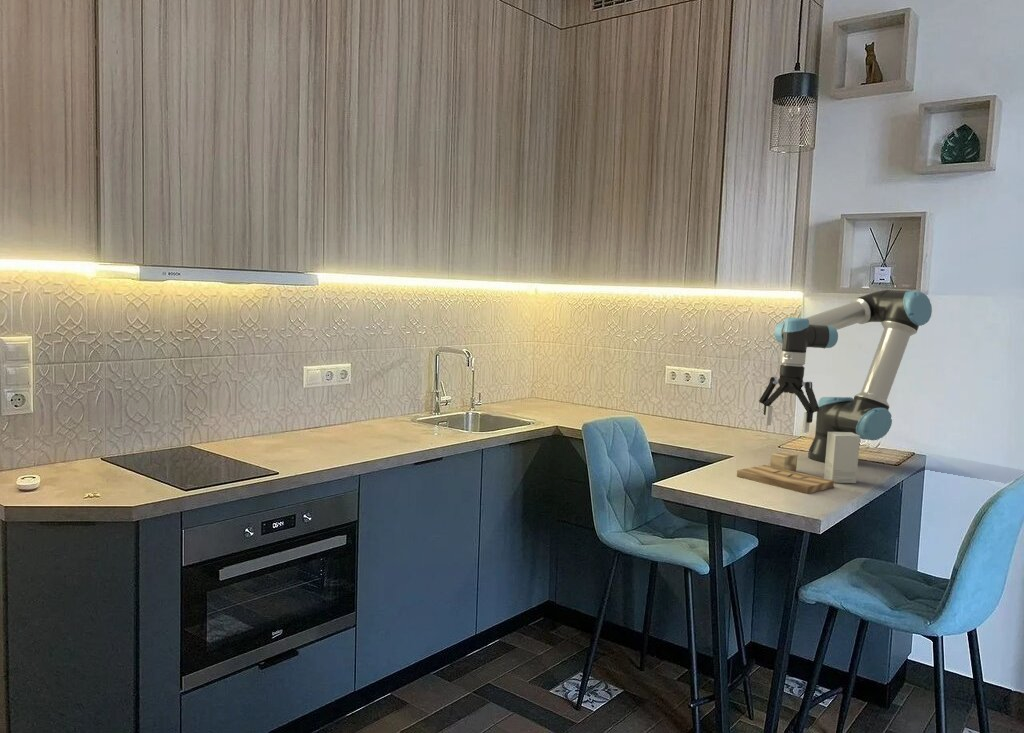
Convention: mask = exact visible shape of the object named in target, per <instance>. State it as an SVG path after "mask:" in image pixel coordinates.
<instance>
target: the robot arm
mask: <svg viewBox="0 0 1024 733" xmlns="http://www.w3.org/2000/svg"><path fill="white" fill-rule="evenodd" d="M932 312H933V307H932V303H931V299H930V298H929V296H927V294H926V293H924V292H922V291H918V290H913V289H909V290H898V289H897V290H896V289H895V290H894V289H892V290H891V289H885V290H884V289H883V290H878V291H874V292H871V293H868V294H865V295H862V296H859V297H855V298H854V299H852V300H851V301H850V303H847V304H843V305H841V306H838V307H833V308H831V309H829V310H825V311H822V312H820V313H817V314H814V315H811V316H807V317H805V318H802V317H787V318H785V319H784V322H779V323H778V324H777V325H776V326H775V328H774V332H773V335H774V338H775V340H776V341H777V342H778V343H780V344H782V345H781V356H780V363H781V365H780V366H779V378H778V377H777V376H771V377H769V378H770V379H769V381H768V382H769V383H768V385H767V387H766V388H765V390H764V392H763V394H762V395H761V397H760V399H759V400H758V402H759V403H760V404H762V405H763V415H764V416H765V418H764V426H771V425H772V418H773V417H772V416H773V409H774V408H773V407H774V406H773V405H772V404H773V403H774V402H775V401H776V400H777V399H778V398H779V397H780V396H781V395H782V394H783V393H789V394H792V395H793V394H794V395H795V396H797V398H798V400H799V401H800V403H801V405H802V406H803V408H804V409H805V412H804V414H803V422H802V431H801V433H804V434H808V433H810V424H811V423H812V422H813V416H814V413H816V421H815V433H814V434H815V435H814V438H813V440H812V443H811V444H810V447H809V449H808V454H807V457H808V459H811V460H814V461H817V462H822V463H825V458H826V446H827V434H828V432H852V433H854V434H857V435H859V436H860V440H867V441H877V440H880V439H882V438H884V437H885V436H886V435H887V434H888V432H889V431H890V429H891V427H892V424H893V419H892V413H891V411H890V410H889V409H890V404H889V403H888V397H889V395H890V393H891V390H892V387H893V385H894V382H895V379H896V376H897V374H898V370H899V368H900V365H901V362H902V360H903V357H904V354H905V351H906V348H907V346H908V343H909V341H910V338H911V336H913V335H915V334H917V332H918V330H919V327H920V326H924V325H926V324H927V323H928V322H929V321H930V319H931V317H932ZM872 322H873V323H881V325H882V328H883V331H882V333H881V336H880V339H879V342H878V345H877V348H876V350H875V352H874V356H873V358H872V361H871V364H870V366H869V369H868V372H867V375H866V378H865V380H864V383H863V386H862V388H861V390H860V391H861V392H859V393H857V394H855V395H854V397H848V396H822V397H820V398H819V400H818V401H817V399H816V395H815V392H814V390H813V381H804V376H805V367H804V366H805V364H806V356H807V355H806V354H807V348H813V349H816V348H817V349H818V348H820V349H830V348H831V349H832V348H834V347H835V346H836V345H837V343H838V340H839V333H838V330H840V329H844V328H846V327H849V326H853V325H855V324H860V325H864V324H868V323H872ZM777 384H778V387H777V388H776V386H777ZM775 388H776V389H775ZM802 388H803V389H805V393H804V390H803V389H802ZM774 389H775V391H774ZM773 391H774V392H773Z"/></svg>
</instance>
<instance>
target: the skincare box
mask: <svg viewBox="0 0 1024 733" xmlns="http://www.w3.org/2000/svg"><path fill="white" fill-rule="evenodd" d="M860 443H861V438H860V436H859V435H857V434H854V433H852V432H828V434H827V446H826V458H825V462H824V474H823V478H824V479H829V480H833V481H834V484H836V483H837V484H856V483H857V477H858V465H859V455H860Z"/></svg>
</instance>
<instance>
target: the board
mask: <svg viewBox="0 0 1024 733" xmlns="http://www.w3.org/2000/svg"><path fill="white" fill-rule="evenodd" d="M736 477H738V478H742V479H746V480H750V481H754V482H757V483H758V482H759V483H762V484H767V485H771V486H775V487H779V488H782V489H785V490H790V491H794V492H797V493H798V492H799V493H803V494H805V495H806V494H807V495H808V494H812V493H815V492H820V491H824V490H828V489H831V488H834V487H835V483H834V481H833V480H829V479H824V477H820V476H815V475H810V474H806V473H801V472H798V471H796V472H794V471H789V470H785V469H780V468H776V467H772V466H770V465H766V464H762V465H757V466H753V467H752V466H751V467H746V468H742V469H738V470H736Z"/></svg>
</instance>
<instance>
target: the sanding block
mask: <svg viewBox="0 0 1024 733" xmlns="http://www.w3.org/2000/svg"><path fill="white" fill-rule="evenodd" d="M798 458H799V457H798V453H796V454H795V453H792V452H787V451H780V452H774V453H771V455H770V464H769V466H772V467H776V468H780V469H785V470H789V471H794V472H797V466H798Z"/></svg>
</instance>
